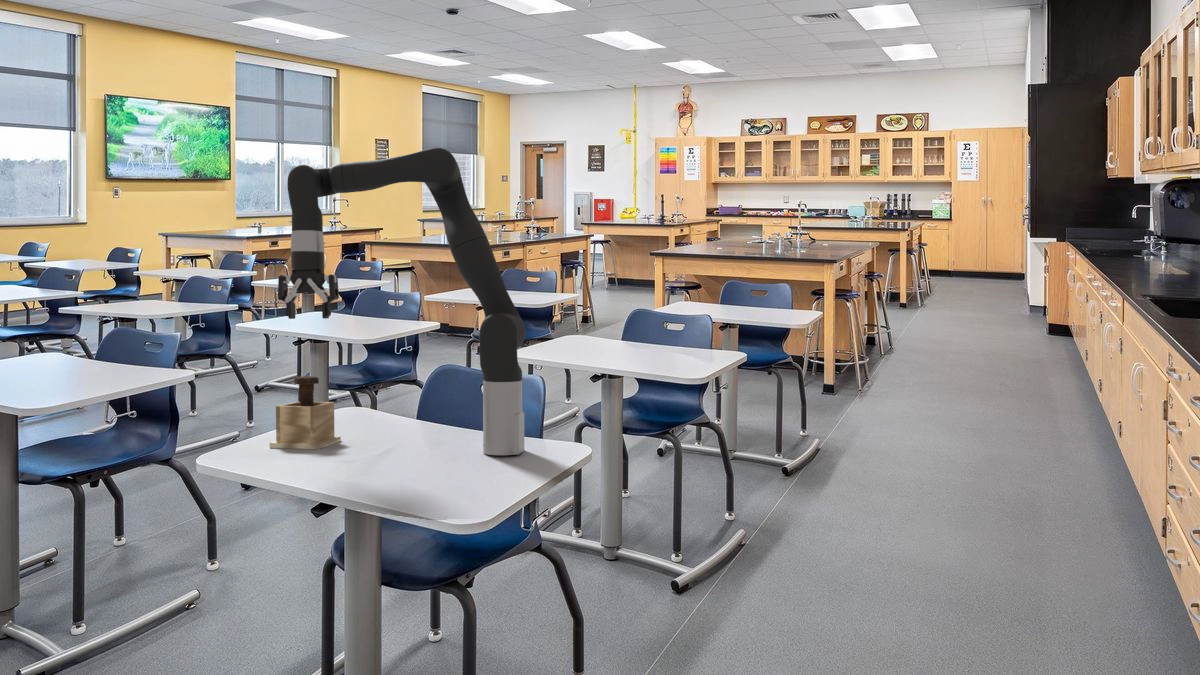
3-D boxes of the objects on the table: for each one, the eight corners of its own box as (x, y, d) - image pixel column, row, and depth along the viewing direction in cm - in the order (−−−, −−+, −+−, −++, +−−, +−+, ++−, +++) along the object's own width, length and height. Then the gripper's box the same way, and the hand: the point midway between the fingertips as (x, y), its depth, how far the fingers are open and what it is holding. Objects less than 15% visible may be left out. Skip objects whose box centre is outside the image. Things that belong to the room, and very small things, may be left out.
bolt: (304, 441, 204) (304, 378, 203) (290, 440, 206) (289, 377, 206) (323, 438, 209) (323, 376, 208) (309, 437, 211) (308, 375, 211)
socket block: (340, 441, 212) (340, 401, 212) (318, 449, 201) (317, 407, 200) (294, 440, 214) (294, 401, 214) (269, 448, 202) (269, 406, 202)
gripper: (342, 251, 210) (343, 318, 210) (287, 252, 211) (288, 318, 212) (329, 249, 202) (330, 318, 203) (271, 250, 204) (272, 318, 204)
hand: (308, 318), depth 207 cm, fingers open, 8 cm apart
